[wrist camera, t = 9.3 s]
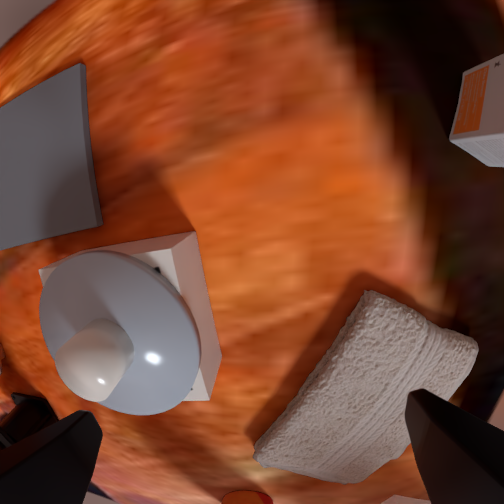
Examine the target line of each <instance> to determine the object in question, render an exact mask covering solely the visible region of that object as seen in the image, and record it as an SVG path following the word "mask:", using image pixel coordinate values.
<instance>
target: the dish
mask: <svg viewBox="0 0 504 504" xmlns="http://www.w3.org/2000/svg"><path fill="white" fill-rule="evenodd" d="M94 250H112V251H116V252H121V253H125V254H127V255H130V256H133V257H135V258H137V259H139V260H141V261H143V262H145V263H147V264H148V265H150V266H151V267H153V268H154V269H156V270H157V271H158V272H159V273H160V274H162V275H163V276H164V277H165V278H166V279H167V280H168V281H169V282H170V283H171V284H172V285H173V286H174V287H175V288H176V289H177V291H178V292H179V293H180V295H181V296H182V297H183V299H184V300H185V302H186V303H187V305H188V307H189V308H190V310H191V312H192V315H193V317H194V319H195V321H196V324H197V327H198V330H199V335H200V340H201V352H202V354H201V363H200V367H199V371H198V374H197V376H196V379H195V382H194V384H193V386H192V388H191V390H190V392H189V393H188V395H187V396H186V397H185V398H184V399H183V400H182V401H206V400H210V397H211V393H212V390H213V386H214V383H215V379H216V376H217V372H218V369H219V365H220V362H221V358H222V354H221V350H220V346H219V341H218V337H217V333H216V328H215V324H214V319H213V315H212V310H211V305H210V301H209V296H208V291H207V286H206V282H205V277H204V272H203V267H202V262H201V257H200V252H199V246H198V241H197V236H196V231H192V232H186V233H180V234H174V235H168V236H162V237H156V238H150V239H144V240H138V241H132V242H127V243H121V244H115V245H110V246H104V247H99V248H93V249H88V250H83V251H79V252H77V253H75V254H72V255H70V256H68V257H66V258H63V259H61V260H59V261H57V262H54V263H52V264H50V265H48V266H46V267H44V268H41V269H39V274H40V277H41V281H42V284H43V287H44V285H45V282H46V280H47V279H48V277H49V276H50V274H51V273H52V272H53V271H54V270H55V268H56V267H58V266H59V265H60V264H62V263H63V262H65V261H67V260H69V259H71V258H73V257H75V256H77V255H79V254H82V253H85V252H89V251H94Z"/></svg>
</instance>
